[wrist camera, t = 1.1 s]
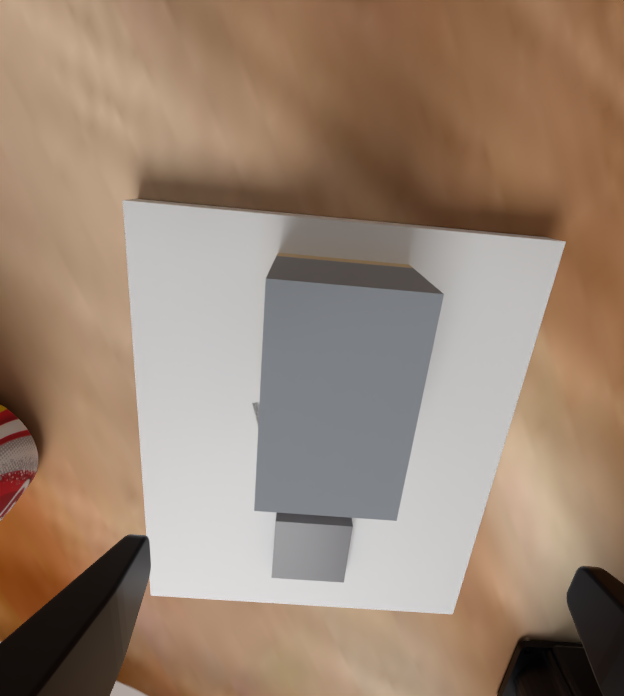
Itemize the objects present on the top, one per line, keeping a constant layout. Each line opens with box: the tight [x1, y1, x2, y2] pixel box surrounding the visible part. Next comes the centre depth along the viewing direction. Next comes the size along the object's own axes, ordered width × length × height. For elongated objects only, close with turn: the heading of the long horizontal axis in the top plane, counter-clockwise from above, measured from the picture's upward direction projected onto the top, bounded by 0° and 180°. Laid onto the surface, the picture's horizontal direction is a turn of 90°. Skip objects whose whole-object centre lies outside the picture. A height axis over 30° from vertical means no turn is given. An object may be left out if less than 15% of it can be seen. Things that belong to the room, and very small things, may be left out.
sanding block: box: [254, 253, 444, 521], centre depth 17 cm, size 9×6×5 cm, turn 175°
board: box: [123, 199, 566, 614], centre depth 22 cm, size 22×18×2 cm
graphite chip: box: [271, 513, 353, 583], centre depth 23 cm, size 4×4×1 cm
